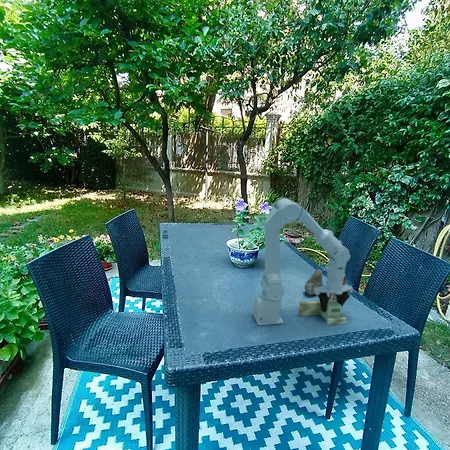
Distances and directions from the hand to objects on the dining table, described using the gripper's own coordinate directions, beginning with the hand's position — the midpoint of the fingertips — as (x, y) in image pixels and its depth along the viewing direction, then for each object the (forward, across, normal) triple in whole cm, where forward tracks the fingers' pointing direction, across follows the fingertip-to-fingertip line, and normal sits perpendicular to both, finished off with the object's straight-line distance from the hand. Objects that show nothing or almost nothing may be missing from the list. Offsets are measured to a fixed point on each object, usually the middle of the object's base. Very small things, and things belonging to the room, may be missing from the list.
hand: (330, 310), depth 109 cm
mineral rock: (+3, +4, +22) cm, 22 cm away
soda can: (+3, +10, +12) cm, 16 cm away
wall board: (+3, -3, -1) cm, 4 cm away
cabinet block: (+3, 0, 0) cm, 3 cm away
